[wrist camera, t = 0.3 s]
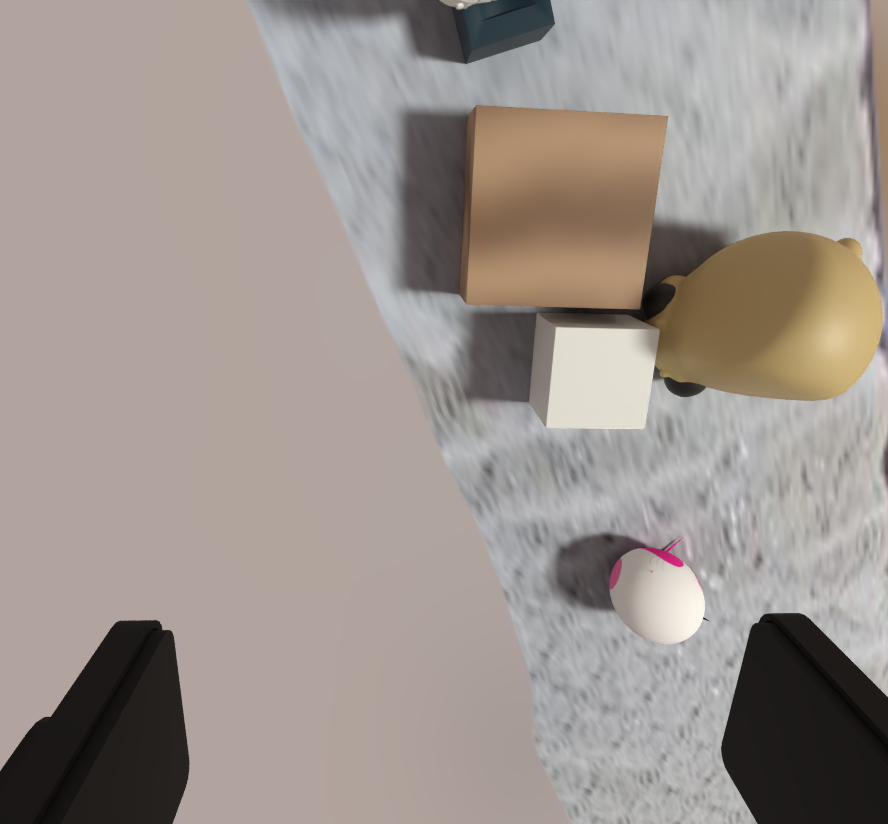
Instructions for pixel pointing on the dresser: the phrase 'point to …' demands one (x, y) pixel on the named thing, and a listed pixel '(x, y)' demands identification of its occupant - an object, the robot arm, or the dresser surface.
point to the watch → (499, 24)
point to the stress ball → (657, 595)
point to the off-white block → (592, 370)
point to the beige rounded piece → (768, 319)
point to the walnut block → (558, 206)
